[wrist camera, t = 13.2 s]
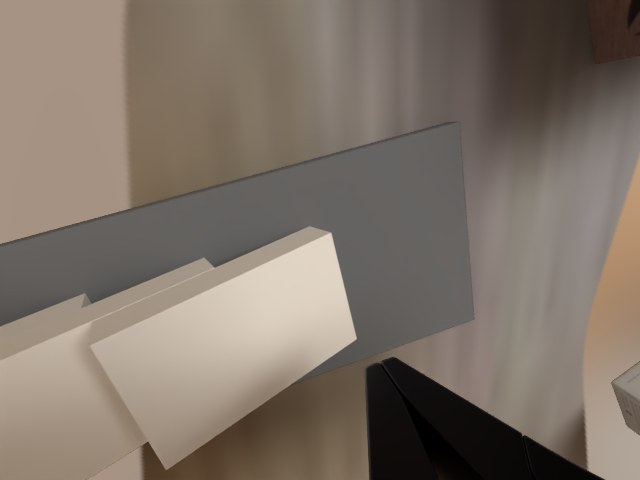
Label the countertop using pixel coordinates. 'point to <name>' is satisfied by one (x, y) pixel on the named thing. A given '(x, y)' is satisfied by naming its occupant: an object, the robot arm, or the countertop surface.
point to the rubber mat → (278, 222)
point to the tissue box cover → (614, 28)
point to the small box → (629, 396)
